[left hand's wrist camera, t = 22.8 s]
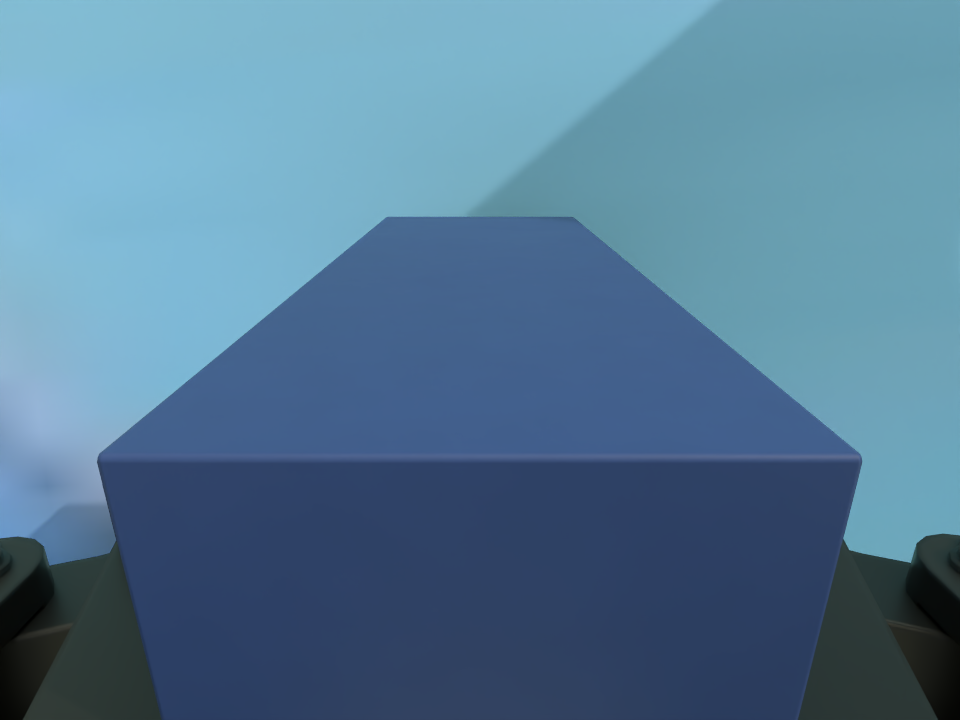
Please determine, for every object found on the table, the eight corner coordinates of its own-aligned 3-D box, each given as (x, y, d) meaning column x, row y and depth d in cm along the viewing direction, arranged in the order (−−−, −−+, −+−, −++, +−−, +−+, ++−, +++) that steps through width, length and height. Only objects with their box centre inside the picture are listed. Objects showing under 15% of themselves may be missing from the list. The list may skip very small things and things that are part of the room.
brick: (560, 481, 17) (705, 1100, 6) (399, 481, 17) (253, 1100, 6) (574, 216, 15) (868, 456, 4) (385, 216, 15) (91, 456, 4)
